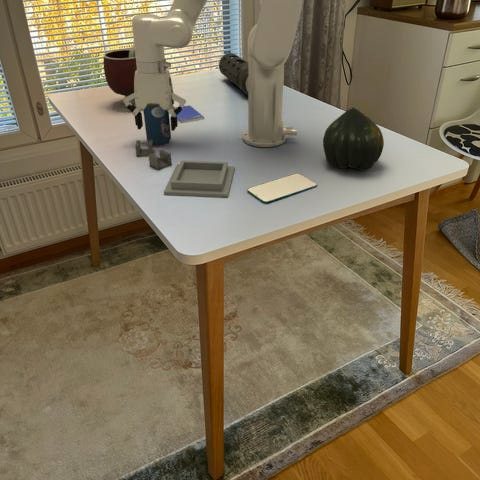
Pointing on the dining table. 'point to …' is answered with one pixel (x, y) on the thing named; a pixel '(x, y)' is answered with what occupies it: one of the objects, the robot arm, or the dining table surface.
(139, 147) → the clip
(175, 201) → the dining table surface
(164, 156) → the clip
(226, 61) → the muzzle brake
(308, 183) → the smartphone
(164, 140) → the soda can
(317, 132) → the dining table surface
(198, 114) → the hard drive
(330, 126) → the squash
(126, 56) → the mate gourd
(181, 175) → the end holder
